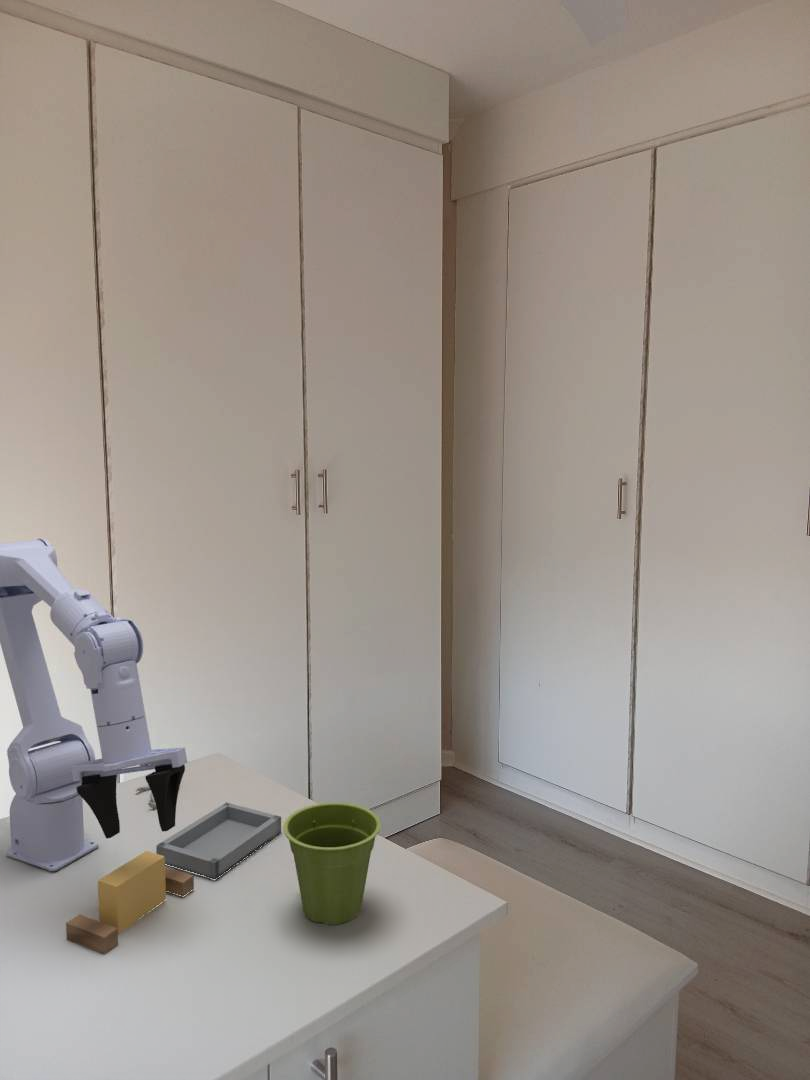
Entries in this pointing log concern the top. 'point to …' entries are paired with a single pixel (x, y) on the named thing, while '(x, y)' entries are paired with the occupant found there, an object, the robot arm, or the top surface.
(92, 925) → the brown block pair
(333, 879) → the plant pot
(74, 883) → the top surface
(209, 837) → the tray
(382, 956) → the top surface
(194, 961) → the top surface
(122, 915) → the block
